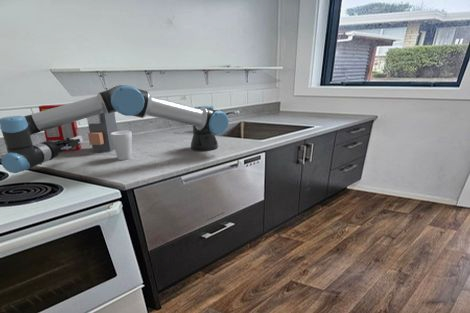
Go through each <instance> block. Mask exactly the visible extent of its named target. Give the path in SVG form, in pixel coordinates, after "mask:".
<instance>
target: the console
mask: <svg viewBox="0 0 470 313" xmlns="http://www.w3.org/2000/svg"><path fill="white" fill-rule="evenodd" d="M101 119H102V123H99V124H88V123H87V124H88V130H89V133H91V132H102V133H103V135H104V144H101V145H91V146H92V152H98V153H99V152H100V153H101V152H102V153H103V152H104V153H105V152H110V153H111V152H112V151H115V148H114V144H113V141H112V139H111V134H110V133H112V132H117V131H118V127H117V121H116V114H115V112H112V113H109V114H106V113H101Z"/></svg>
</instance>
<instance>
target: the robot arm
mask: <svg viewBox="0 0 470 313" xmlns="http://www.w3.org/2000/svg"><path fill="white" fill-rule="evenodd" d="M62 105H63V106H59V107H55V108H52V109H48V110H45V111H41V112H40V111H39V112H38V111H37V112H34V113H31V114H28V115H13V116H12V115H10V116H5V117H1V118H0V131H1V134H2V137H3V140H4V144H5V146H6V151H7V153H5V154H4V155H3V156H2V157H1V161H0V162H1V165H2V167H3V168H4V170H5V171H7V172H9V173H12V174H18V173H21V172H24V171H28V170H29V169H31V168H35V167H37V166H40V165H41V166H42V165H43V163H46V162H48V161H52V160H54V159H56V158H57V157H58V156H59V154H60V153H63V152H62V151H64V150H66V149H67V150H72V149H73V148H74V147H76V146H77V145H78V143H82V142H83V141H84V139H83V136H82V135H79V136H77V137H74V138H71V139H70V140H69V138H66V139H67V140H60V141H56V142H51V141H46V140H45V141H43V142H40V143H35V144H33V141H32V137H31V136H32V135H34V134H39V133H41V132H44V131H45V130H48V129H51V128H55V127H58V126H61V125H65V124H68V123H71V122H74V121H76V122H78V121H80V120H84V119H87V118H88V117H91V116H94V115H98V114H101V113H106V114H109V113H112V112H116V113H118V114H121V115H123V116H125V117H136V118H141V119H143V118H144V117H147V116H148V117H151V118H157V119H161V120H166V121H170V122H175V123H179V124H184V125H187V126H191V127H192V137H191V142H190V149H191V150H192V151H196V152H206V151H213V150H216V149H218V147H219V143H218V140H217V138H216V136H218V135H219V136H220V135H222V134H224V133H225V132H226V131H227V130H228V128H229V123H230V121H229V120H230V119H229V117H228V115H227V113H225V112H224V111H222V110H218V109H214V106H213V105H202V106H194V107H193V106H191V105H185V104H182V103H178V102H174V101H171V100H167V99H163V98H159V97H157V96H152V95H151V94H150V93H149V91H147V90H143V89H141V88H137V87H135V86H132V85H128V84H127V85H122V84H121V85H120V84H119V85H116V86H114V87H111V88H109V89H107V90H104V91H101V92H98V93H97V94H96V96H92V97H88V98H85V99H81V100H78V101H74V102H71V103H67V104H62ZM64 152H65V151H64Z"/></svg>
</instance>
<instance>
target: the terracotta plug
mask: <svg viewBox="0 0 470 313" xmlns="http://www.w3.org/2000/svg"><path fill="white" fill-rule="evenodd" d="M87 136H88V141H89V146H92V145H101V144H104V135H103V133H102V132H91V133H90V132H88V133H87Z"/></svg>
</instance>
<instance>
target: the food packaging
mask: <svg viewBox="0 0 470 313" xmlns="http://www.w3.org/2000/svg"><path fill="white" fill-rule="evenodd" d="M63 105H64V104H50V105H48V104H47V105H46V104H45V105H44V104H43V105H40V106H38V110H39V112H41V111H45V110H48V109H52V108H55V107H59V106H63ZM77 122H78V121H74V122H71V123H68V124H65V125H61V126H58V127H55V128H51V129H48V130H45V131H43V132H44V135H45V136H44V137H45V141H51V142H56V141H60V140H67V139H66V138H69V140H70V139H71V138H74V137H77V136H80V133H79V127H78V123H77ZM81 143H82V142H80V143H78V145H77V146H76V147H74V148H73V149H72V150H67V149H66V150H64V151H62V152H61V153H64V152H74V151H80V150H81V149H82V144H81Z"/></svg>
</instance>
